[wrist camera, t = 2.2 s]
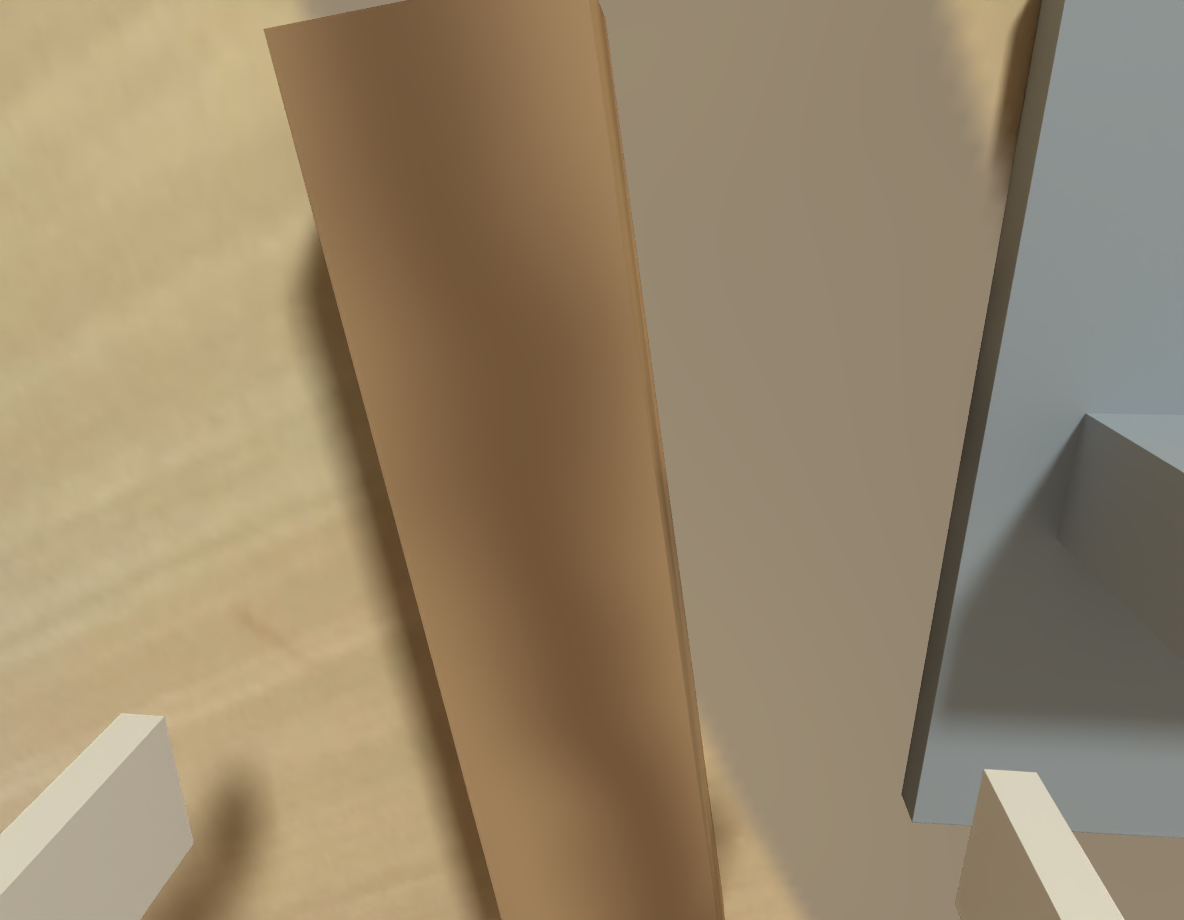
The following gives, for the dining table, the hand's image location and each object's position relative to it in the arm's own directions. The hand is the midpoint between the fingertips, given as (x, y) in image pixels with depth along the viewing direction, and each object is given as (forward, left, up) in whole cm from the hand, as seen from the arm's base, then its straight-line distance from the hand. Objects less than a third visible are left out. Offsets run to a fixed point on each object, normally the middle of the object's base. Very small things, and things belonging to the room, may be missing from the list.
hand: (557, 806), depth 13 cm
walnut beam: (0, 0, -8) cm, 8 cm away
